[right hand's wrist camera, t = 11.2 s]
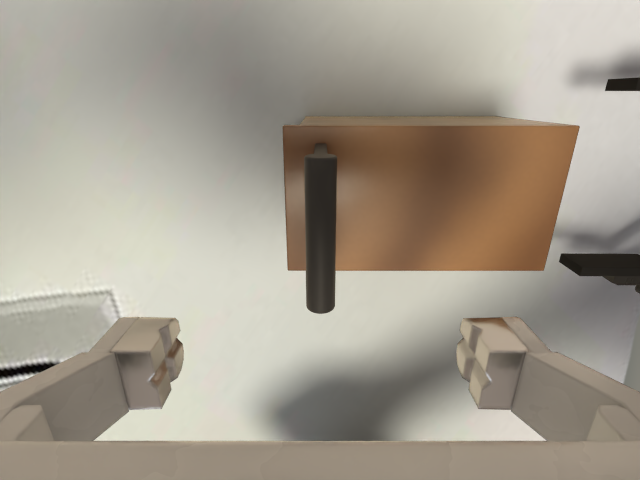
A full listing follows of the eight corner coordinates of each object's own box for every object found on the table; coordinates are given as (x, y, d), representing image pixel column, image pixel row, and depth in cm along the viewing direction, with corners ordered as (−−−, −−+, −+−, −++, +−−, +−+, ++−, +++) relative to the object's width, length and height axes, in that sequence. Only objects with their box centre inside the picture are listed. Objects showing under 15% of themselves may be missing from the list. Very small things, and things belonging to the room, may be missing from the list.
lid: (288, 265, 26) (276, 328, 19) (283, 124, 23) (266, 137, 15) (537, 265, 26) (618, 328, 19) (570, 124, 23) (686, 137, 15)
